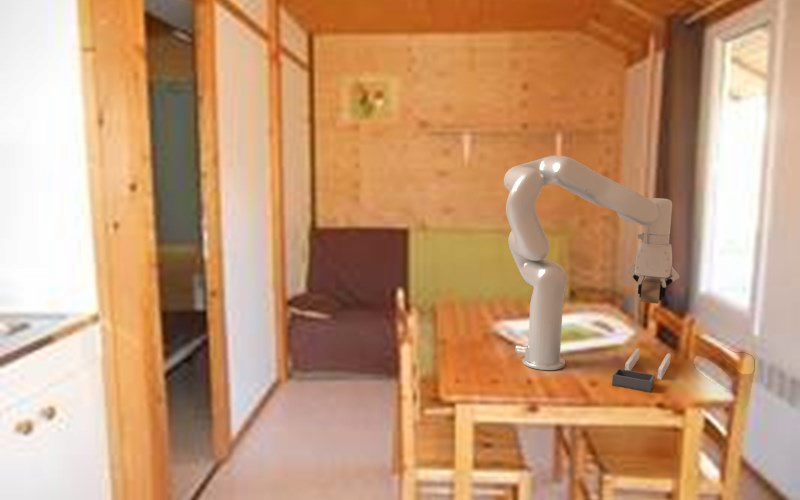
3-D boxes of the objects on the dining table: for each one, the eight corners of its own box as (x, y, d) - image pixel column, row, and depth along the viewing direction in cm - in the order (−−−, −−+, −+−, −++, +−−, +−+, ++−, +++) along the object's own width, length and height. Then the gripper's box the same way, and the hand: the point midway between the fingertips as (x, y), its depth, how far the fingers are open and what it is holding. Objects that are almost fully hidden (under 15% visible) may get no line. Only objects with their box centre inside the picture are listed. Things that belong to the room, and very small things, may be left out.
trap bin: (612, 385, 182) (612, 374, 181) (616, 378, 187) (617, 368, 186) (650, 392, 177) (650, 381, 176) (654, 385, 182) (654, 374, 182)
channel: (624, 373, 191) (625, 363, 191) (635, 357, 205) (636, 348, 204) (661, 379, 186) (661, 369, 186) (669, 363, 200) (670, 353, 199)
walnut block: (640, 301, 200) (642, 282, 199) (645, 294, 208) (647, 276, 207) (657, 303, 197) (659, 284, 196) (662, 296, 206) (664, 278, 205)
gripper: (624, 238, 200) (619, 296, 203) (684, 243, 191) (679, 304, 194) (629, 235, 206) (625, 291, 209) (688, 240, 198) (682, 299, 201)
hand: (651, 297), depth 202 cm, fingers closed on walnut block, 5 cm apart
